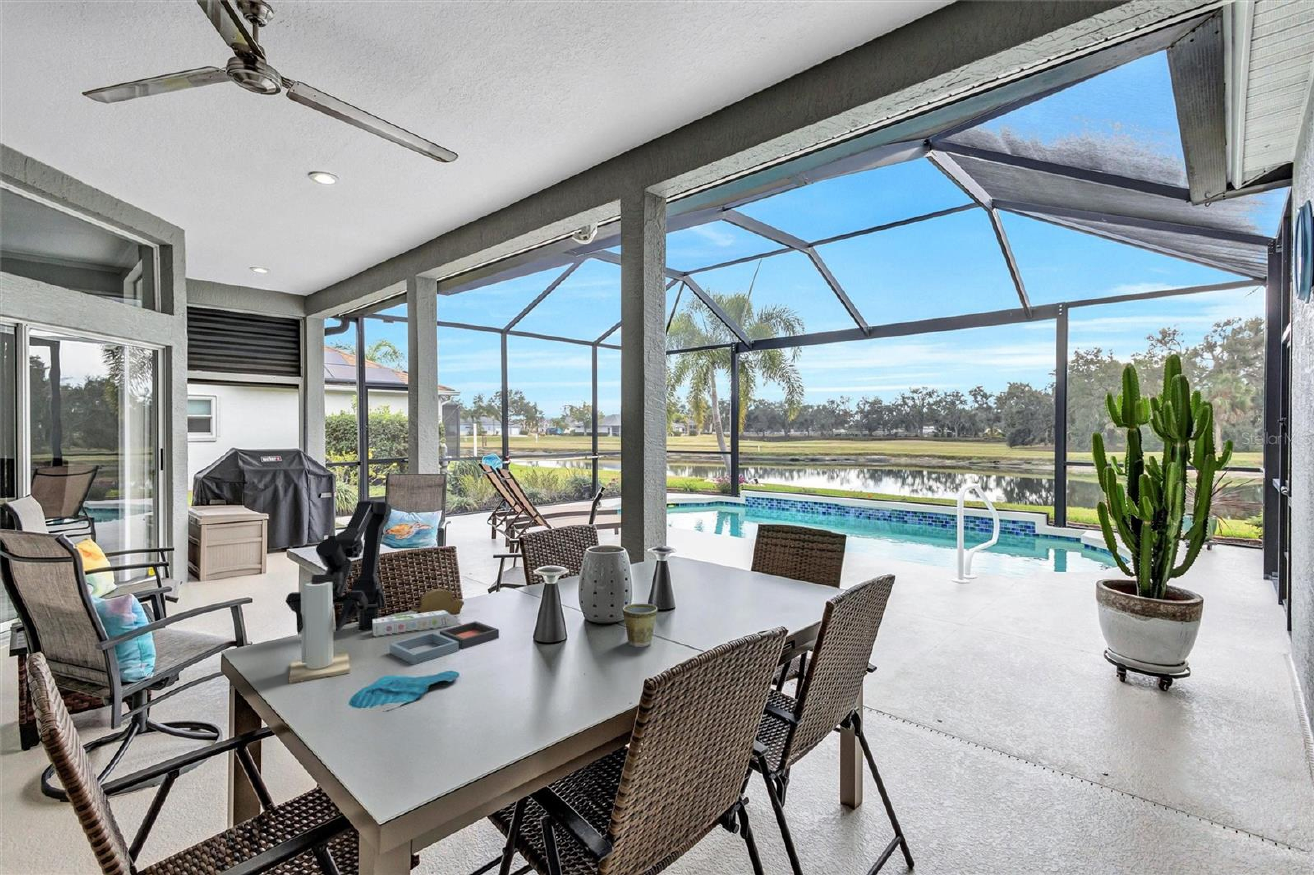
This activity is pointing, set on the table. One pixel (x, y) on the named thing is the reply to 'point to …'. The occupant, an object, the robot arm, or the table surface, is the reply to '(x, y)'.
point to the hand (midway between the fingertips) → (317, 631)
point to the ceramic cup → (639, 623)
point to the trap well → (471, 634)
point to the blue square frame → (445, 648)
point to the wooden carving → (438, 602)
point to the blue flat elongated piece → (397, 689)
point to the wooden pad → (304, 673)
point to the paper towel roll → (317, 624)
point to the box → (413, 622)
